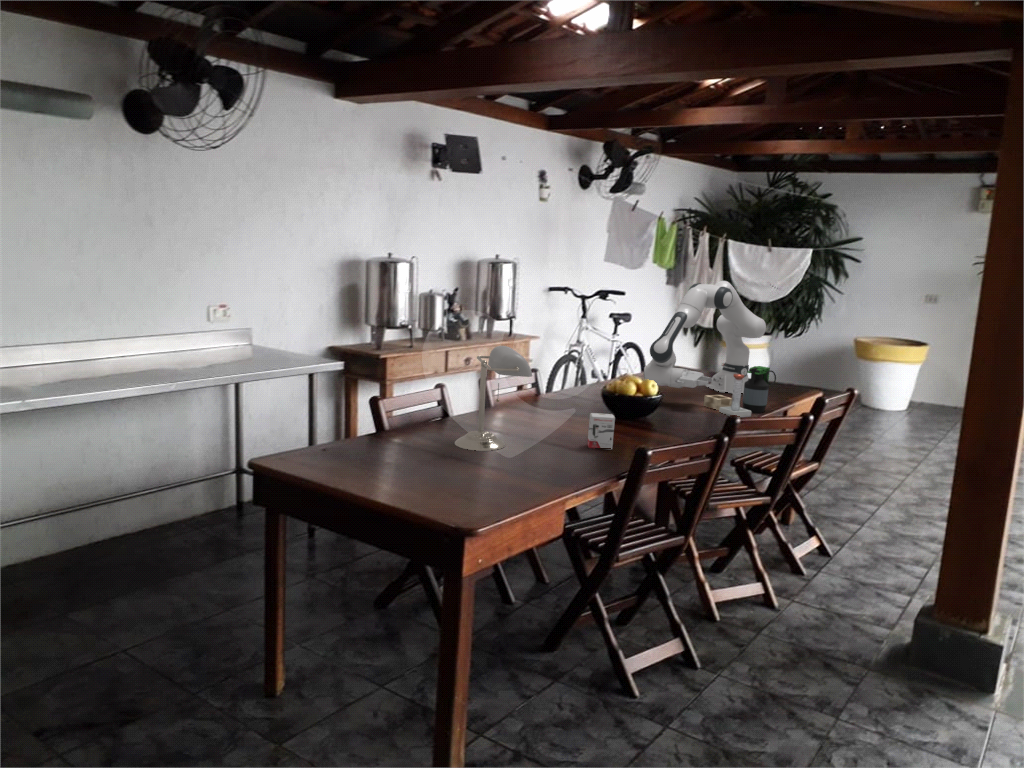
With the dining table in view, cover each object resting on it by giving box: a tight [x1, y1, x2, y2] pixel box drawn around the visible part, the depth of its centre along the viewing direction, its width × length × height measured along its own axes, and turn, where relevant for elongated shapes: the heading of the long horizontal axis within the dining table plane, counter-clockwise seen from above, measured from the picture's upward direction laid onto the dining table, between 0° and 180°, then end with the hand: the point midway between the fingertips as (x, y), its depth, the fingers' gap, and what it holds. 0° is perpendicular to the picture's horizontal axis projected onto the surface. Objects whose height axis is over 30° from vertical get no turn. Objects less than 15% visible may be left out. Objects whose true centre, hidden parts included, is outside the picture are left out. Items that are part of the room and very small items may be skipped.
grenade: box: [741, 365, 777, 414], centre depth 361 cm, size 11×13×20 cm
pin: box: [731, 374, 744, 412], centre depth 349 cm, size 5×5×17 cm
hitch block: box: [703, 394, 732, 411], centre depth 363 cm, size 9×9×5 cm
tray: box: [718, 406, 752, 418], centre depth 351 cm, size 10×10×2 cm
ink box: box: [586, 412, 616, 450], centre depth 284 cm, size 9×5×12 cm, turn 90°
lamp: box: [454, 345, 533, 452], centre depth 278 cm, size 26×24×34 cm
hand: (710, 381), depth 354 cm, fingers open, 8 cm apart
